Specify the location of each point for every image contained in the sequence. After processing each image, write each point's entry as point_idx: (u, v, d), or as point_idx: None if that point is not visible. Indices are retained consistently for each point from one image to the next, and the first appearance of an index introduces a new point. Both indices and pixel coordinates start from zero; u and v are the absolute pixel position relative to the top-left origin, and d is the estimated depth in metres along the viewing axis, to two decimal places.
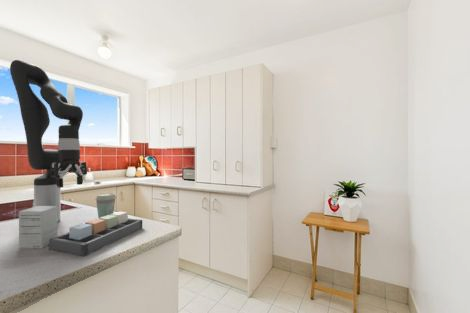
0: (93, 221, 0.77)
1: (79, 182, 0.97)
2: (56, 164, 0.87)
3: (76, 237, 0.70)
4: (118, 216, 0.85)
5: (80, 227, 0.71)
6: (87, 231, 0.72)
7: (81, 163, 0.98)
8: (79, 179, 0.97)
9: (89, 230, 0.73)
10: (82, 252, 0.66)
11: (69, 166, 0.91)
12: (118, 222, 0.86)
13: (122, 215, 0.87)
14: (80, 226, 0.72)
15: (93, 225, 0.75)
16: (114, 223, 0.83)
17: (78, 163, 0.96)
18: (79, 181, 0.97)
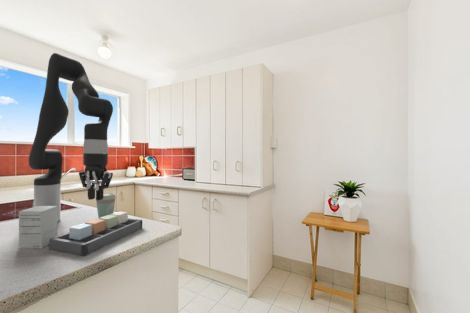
0: (93, 221, 0.77)
1: (93, 196, 0.78)
2: None
3: (76, 237, 0.70)
4: (118, 216, 0.85)
5: (80, 227, 0.71)
6: (87, 231, 0.72)
7: None
8: (93, 192, 0.78)
9: (89, 230, 0.73)
10: (82, 252, 0.66)
11: None
12: (118, 222, 0.86)
13: (122, 215, 0.87)
14: (80, 226, 0.72)
15: (93, 225, 0.75)
16: (114, 223, 0.83)
17: None
18: (93, 195, 0.78)
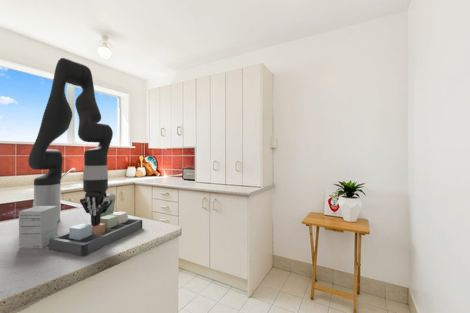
0: None
1: None
2: None
3: (76, 237, 0.70)
4: (118, 216, 0.85)
5: (80, 227, 0.71)
6: (87, 231, 0.72)
7: None
8: None
9: (89, 230, 0.73)
10: (82, 252, 0.66)
11: None
12: (118, 222, 0.86)
13: (122, 215, 0.87)
14: (80, 226, 0.72)
15: (93, 229, 0.75)
16: (114, 223, 0.83)
17: None
18: None
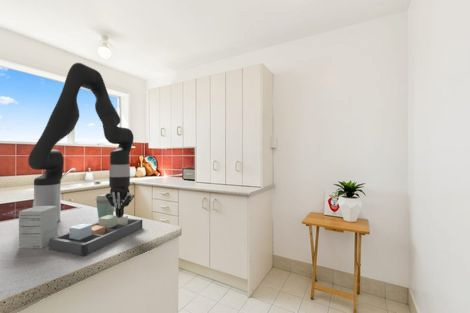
0: (93, 228, 0.77)
1: None
2: None
3: (76, 237, 0.70)
4: (118, 220, 0.86)
5: (80, 227, 0.71)
6: (87, 231, 0.72)
7: None
8: None
9: (89, 230, 0.73)
10: (82, 252, 0.66)
11: None
12: None
13: (122, 219, 0.87)
14: (80, 226, 0.72)
15: (93, 232, 0.75)
16: (114, 223, 0.83)
17: None
18: None
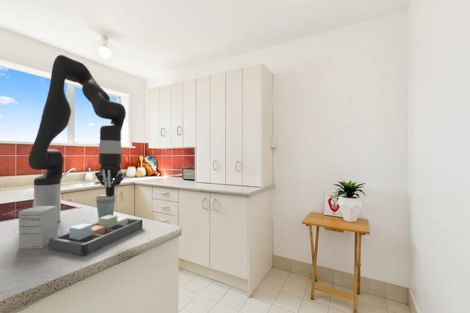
0: (93, 228, 0.77)
1: None
2: None
3: (76, 237, 0.70)
4: (118, 222, 0.86)
5: (80, 227, 0.71)
6: (87, 231, 0.72)
7: None
8: None
9: (89, 230, 0.73)
10: (82, 252, 0.66)
11: None
12: None
13: (122, 221, 0.87)
14: (80, 226, 0.72)
15: (93, 232, 0.75)
16: (114, 223, 0.83)
17: None
18: None
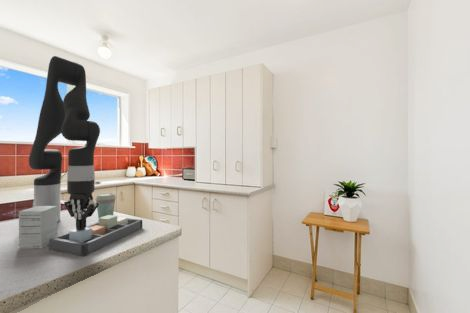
0: (93, 228, 0.77)
1: None
2: None
3: None
4: (118, 222, 0.86)
5: None
6: (87, 234, 0.72)
7: None
8: None
9: (89, 233, 0.73)
10: (82, 252, 0.66)
11: None
12: None
13: (122, 221, 0.87)
14: None
15: (93, 232, 0.75)
16: (114, 223, 0.83)
17: None
18: None
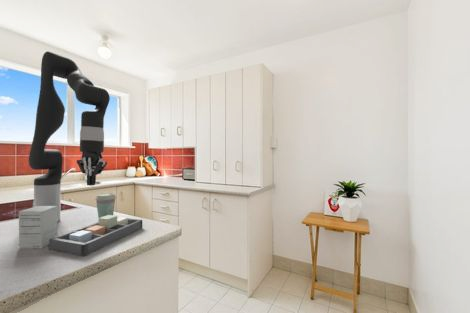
0: (93, 228, 0.77)
1: None
2: None
3: None
4: (118, 222, 0.86)
5: (80, 234, 0.71)
6: (87, 238, 0.72)
7: None
8: None
9: (89, 237, 0.73)
10: (82, 252, 0.66)
11: None
12: None
13: (122, 221, 0.87)
14: (80, 233, 0.72)
15: (93, 232, 0.75)
16: (114, 223, 0.83)
17: None
18: None
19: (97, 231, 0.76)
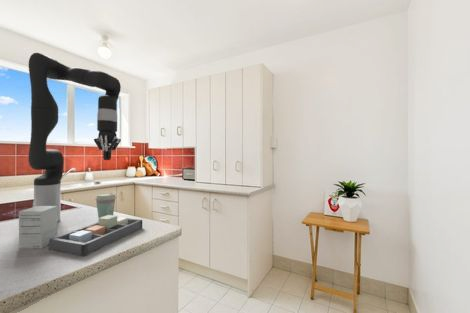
0: (93, 228, 0.77)
1: None
2: None
3: None
4: (118, 222, 0.86)
5: (80, 234, 0.71)
6: (87, 238, 0.72)
7: None
8: None
9: (89, 237, 0.73)
10: (82, 252, 0.66)
11: None
12: None
13: (122, 221, 0.87)
14: (80, 233, 0.72)
15: (93, 232, 0.75)
16: (114, 223, 0.83)
17: None
18: None
19: (97, 231, 0.76)
